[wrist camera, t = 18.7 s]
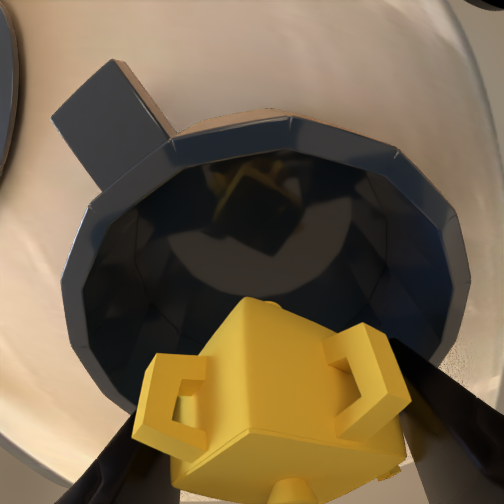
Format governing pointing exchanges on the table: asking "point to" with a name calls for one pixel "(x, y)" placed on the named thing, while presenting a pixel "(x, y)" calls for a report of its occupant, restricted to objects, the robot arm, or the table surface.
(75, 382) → the table surface
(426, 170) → the table surface
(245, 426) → the teapot
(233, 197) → the pot
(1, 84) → the lid
